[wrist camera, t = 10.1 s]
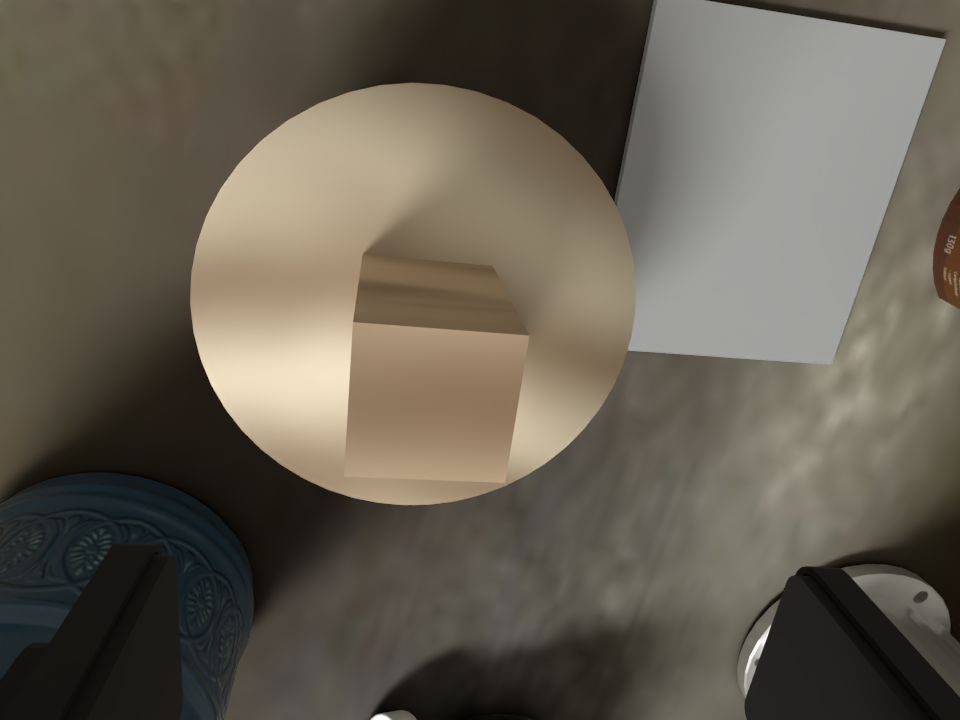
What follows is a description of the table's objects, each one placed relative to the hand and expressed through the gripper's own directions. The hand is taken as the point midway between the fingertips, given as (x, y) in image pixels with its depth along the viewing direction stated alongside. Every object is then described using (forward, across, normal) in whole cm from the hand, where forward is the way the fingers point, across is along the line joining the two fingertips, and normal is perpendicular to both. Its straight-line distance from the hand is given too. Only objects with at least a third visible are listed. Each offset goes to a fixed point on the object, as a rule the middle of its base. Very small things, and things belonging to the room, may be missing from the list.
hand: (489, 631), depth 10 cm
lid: (+14, +1, -1) cm, 14 cm away
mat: (+20, -13, -5) cm, 24 cm away
